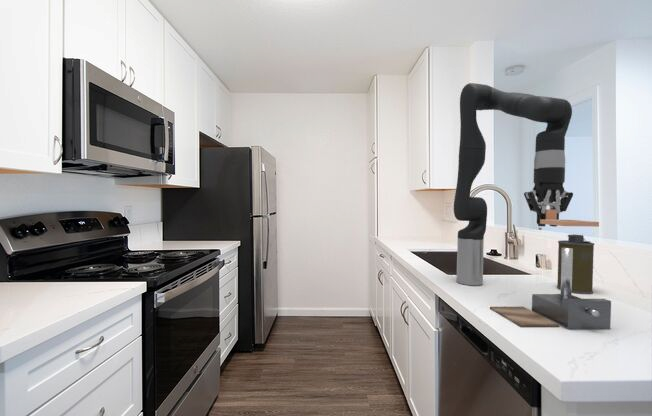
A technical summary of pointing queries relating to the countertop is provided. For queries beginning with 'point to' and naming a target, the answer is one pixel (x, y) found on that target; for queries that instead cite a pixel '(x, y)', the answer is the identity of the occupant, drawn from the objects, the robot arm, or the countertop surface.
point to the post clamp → (572, 303)
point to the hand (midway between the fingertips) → (547, 226)
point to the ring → (552, 220)
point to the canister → (578, 263)
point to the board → (524, 317)
